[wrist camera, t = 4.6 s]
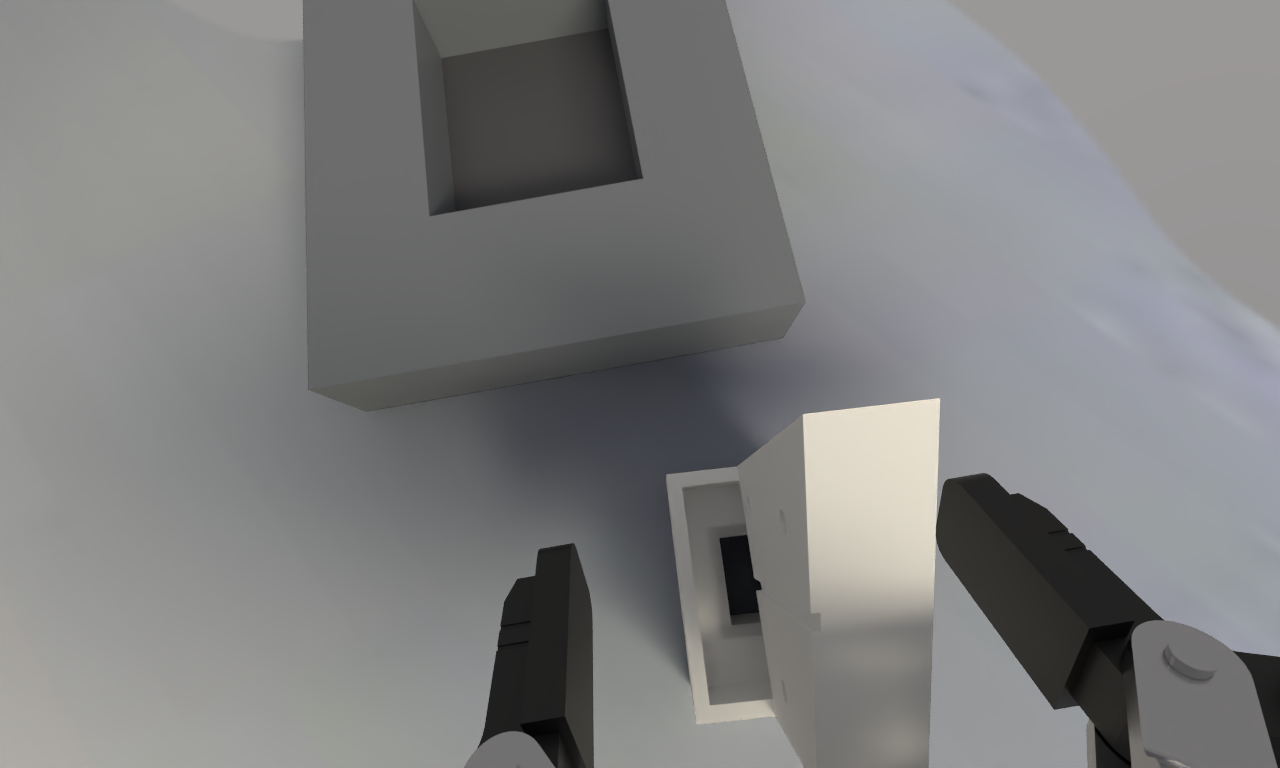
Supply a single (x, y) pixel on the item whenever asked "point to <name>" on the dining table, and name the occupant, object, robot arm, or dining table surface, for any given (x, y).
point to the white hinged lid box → (819, 584)
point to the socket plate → (530, 194)
